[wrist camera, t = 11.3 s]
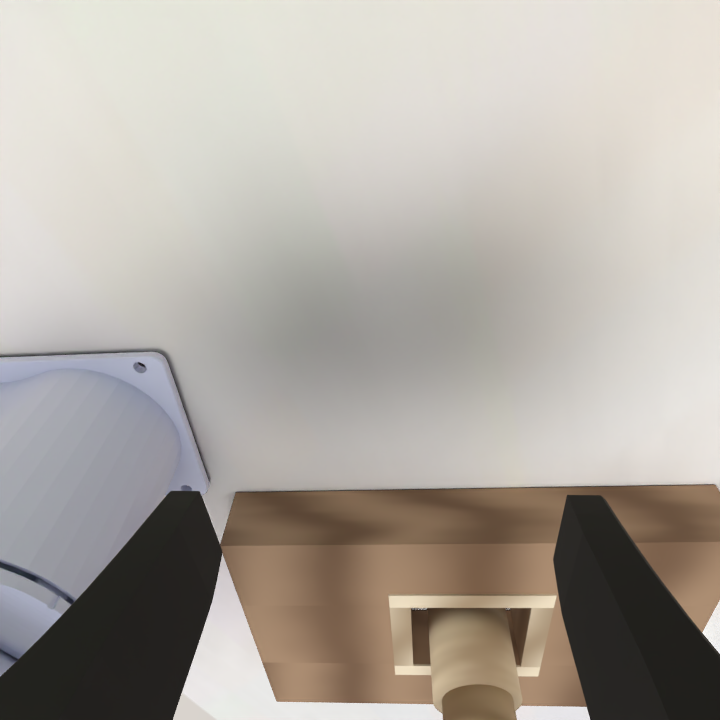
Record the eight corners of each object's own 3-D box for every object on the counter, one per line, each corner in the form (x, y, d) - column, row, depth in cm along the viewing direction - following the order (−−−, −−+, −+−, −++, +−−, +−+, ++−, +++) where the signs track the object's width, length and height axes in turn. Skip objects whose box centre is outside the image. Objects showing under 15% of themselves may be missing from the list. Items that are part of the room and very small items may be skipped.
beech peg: (421, 600, 31) (432, 795, 24) (429, 557, 29) (444, 757, 21) (492, 604, 31) (525, 801, 24) (506, 561, 29) (547, 764, 21)
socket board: (284, 650, 35) (276, 703, 33) (235, 492, 26) (219, 547, 24) (641, 653, 33) (662, 709, 31) (715, 484, 25) (751, 543, 22)
